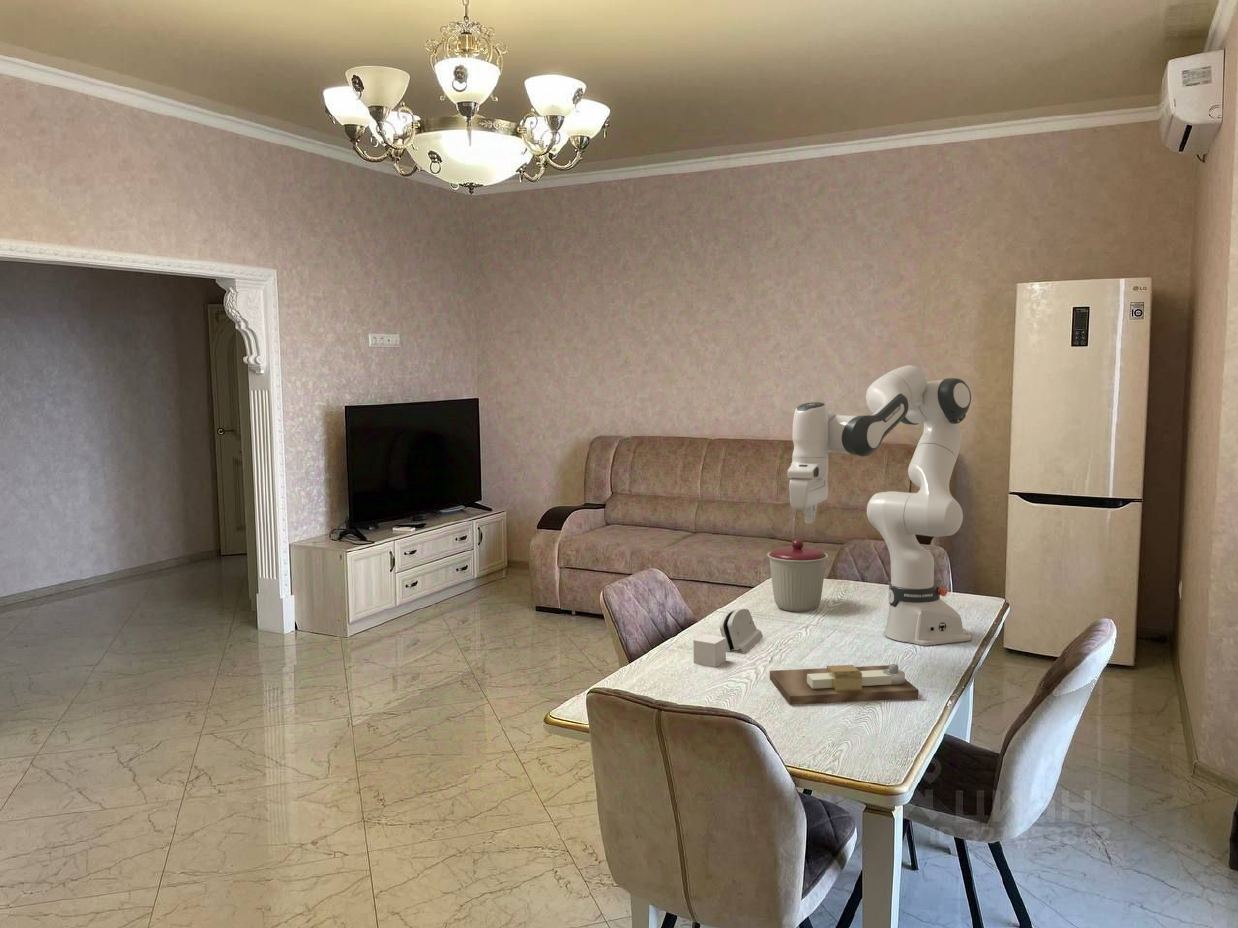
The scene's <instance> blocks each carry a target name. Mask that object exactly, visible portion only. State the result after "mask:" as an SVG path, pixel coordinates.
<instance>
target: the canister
mask: <svg viewBox="0 0 1238 928" xmlns="http://www.w3.org/2000/svg"><path fill="white" fill-rule="evenodd" d="M804 545H805V544H804V542H803V540H802V539H799V538H798V539H796V538H795V539H793V540H792V541H791V545H787V546H780V547H776V548H774V549H772V550H771V551H769V552H767V554H766V555H767V557H768V558H769V566H770V575H771V586H772V593H773V599H774V603H775V604H776V606H777V607H778V608H780V609H782V610H785V611H789V612H799V613H801V612H809V611H814V610H816V609H817V608H818V607H819V605H820V603H821V600H822V595H823V593H822V592H823V585H824V580H825V579H824V578H825V570H826V561H827V559H829V555H828V554H827V553H826V552H825V551H823V550H821V549H820V548H817V547H811V546H804Z"/></svg>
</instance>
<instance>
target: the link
mask: <svg viewBox="0 0 1238 928" xmlns="http://www.w3.org/2000/svg"><path fill="white" fill-rule="evenodd" d="M888 665H889V669H886V670H872V671H860V672H861V673H862V686H870V685H888V684H893V685H899V684H903V683H904V682H905V679H906V678H905V677H906V673H905V671H903V670H900V669H899V665H898V664H896V663H895V664H894V663H890V664H888ZM807 683H808V684H809V685H810V686H811V688H812V689H816V688H832V675H831V674H830V673H816V674H807Z"/></svg>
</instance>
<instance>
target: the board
mask: <svg viewBox="0 0 1238 928" xmlns="http://www.w3.org/2000/svg"><path fill="white" fill-rule="evenodd" d="M889 665H890V664H887V665H869V666H867V665H865V666H855V667H856V668H857V669H858V670H859V671H872V670H886V669H889ZM816 673H829V672H828V671H827V667H822V668H802V669H801V668H800V669H797V668H796V669H784V670H783V669H779V670H769V680H770V681H771V682H772V684H773V685H774V687H775V688H776V689H777V690H778V692H779V693H780V695H781V696H782V697H783V698H784V699H785V701H786V702H787V704H788V705H789V706H799V705H801V706H803V705H820V704H840V703H857V702H858V703H860V702H879V701H881V702H882V701H900V700H902V701H903V700H919V694H920V693H919V689H918V688H917V687H916V686H914V685H913V684H912V683H911V682H910V681H908V680H907V678H905V682H904V683H903V684H899V685H893V684H888V685H870V686H862V691H853V692H834V690H833V689H832V688H816V689H812V688H811V686H810V685H809V684H808V683H807V674H816Z"/></svg>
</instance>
